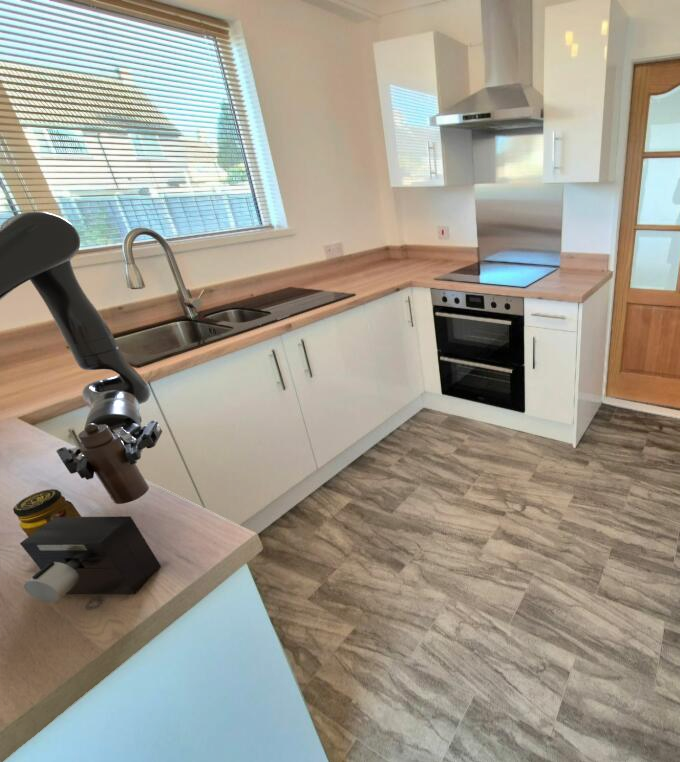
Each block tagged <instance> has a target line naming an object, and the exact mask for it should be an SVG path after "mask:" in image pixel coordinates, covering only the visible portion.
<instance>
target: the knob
mask: <svg viewBox="0 0 680 762" xmlns="http://www.w3.org/2000/svg"><path fill="white" fill-rule="evenodd" d="M80 565H81V562H80V561H79V559H78V558H72V559H71V560H70V561H69V562H68V563H66V564H64V563H61V562H50V563H48V564H47V565H46V566H45V567H44V568H42V569H40V570H39V571H37V572H36V573H35V574H34V575H32V577H30V578H29V579H28V580H26V581H25V582H24V584H23V588H24V590H25V591H26V593H27V594H28V595H29V596H31V597H33V598H34V599H36V600H38V601H41V602H42V603H43V602H44V603H56V602H58V601H59V600H61V599H62V598H63V597H64V596H65V595H67V594H66V593H67V592H68V591H69V590H70V589H71V588H72V587H74V586H75V585H76V584H77V583H78V582H79V581H80V575H79V573H78V572H77V571H76V569H77V568H78V567H79V566H80Z"/></svg>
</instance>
